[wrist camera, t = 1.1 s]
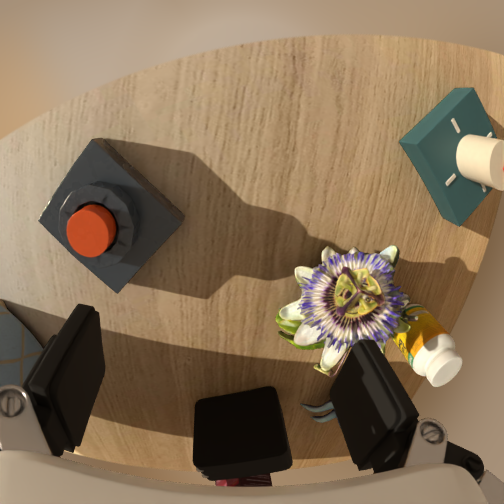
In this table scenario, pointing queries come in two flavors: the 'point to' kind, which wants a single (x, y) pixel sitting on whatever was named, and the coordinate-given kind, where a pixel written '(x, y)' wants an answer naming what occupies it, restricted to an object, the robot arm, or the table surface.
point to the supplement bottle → (428, 347)
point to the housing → (113, 212)
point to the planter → (15, 349)
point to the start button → (91, 230)
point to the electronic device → (240, 435)
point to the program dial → (482, 160)
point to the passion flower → (345, 304)
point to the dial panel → (449, 152)
